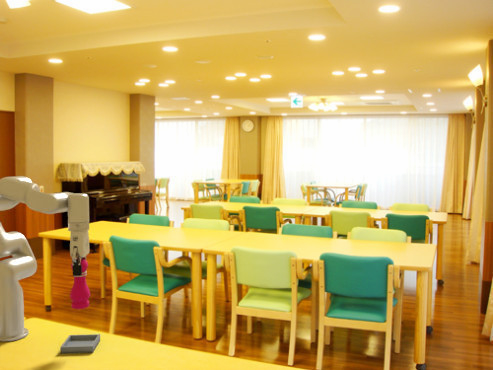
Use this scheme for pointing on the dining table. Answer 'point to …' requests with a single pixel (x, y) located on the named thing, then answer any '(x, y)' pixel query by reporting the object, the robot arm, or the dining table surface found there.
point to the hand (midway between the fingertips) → (79, 272)
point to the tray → (80, 344)
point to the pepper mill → (80, 288)
